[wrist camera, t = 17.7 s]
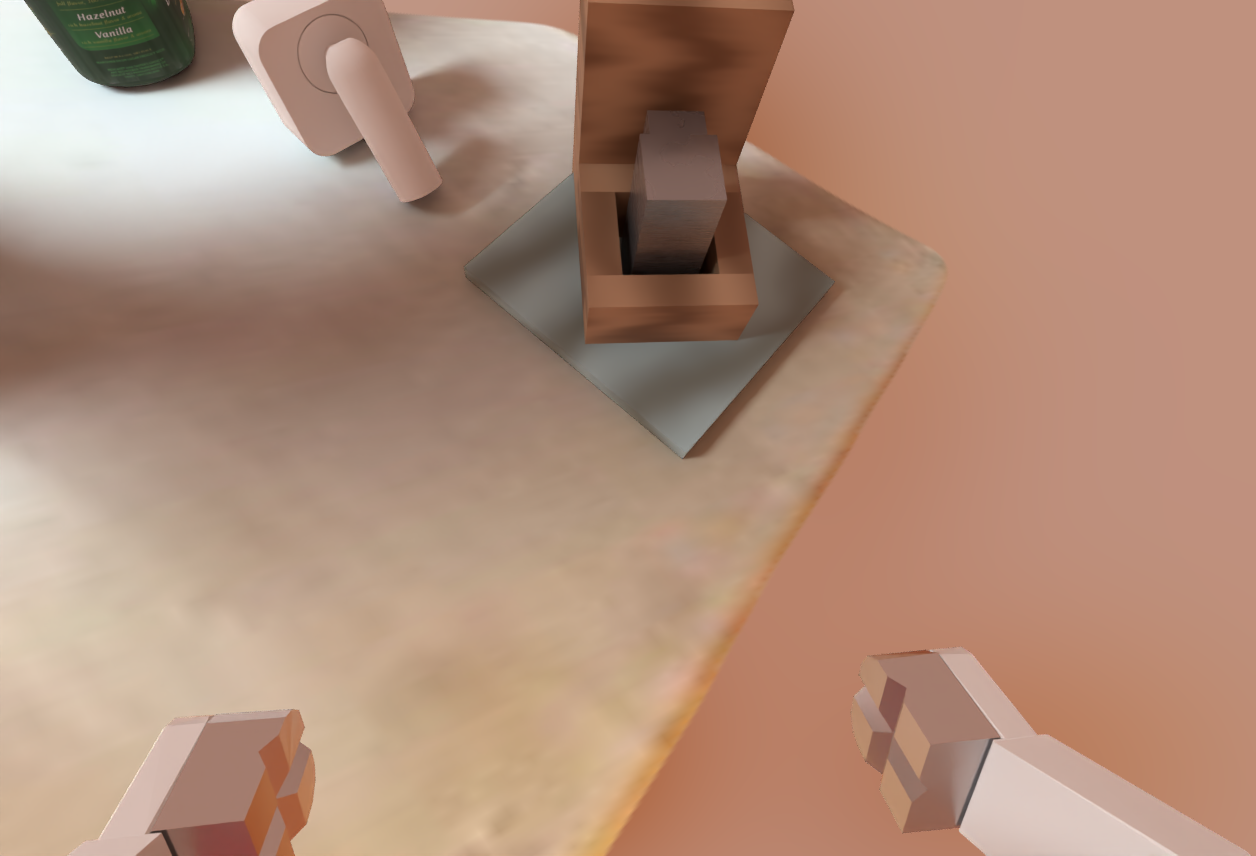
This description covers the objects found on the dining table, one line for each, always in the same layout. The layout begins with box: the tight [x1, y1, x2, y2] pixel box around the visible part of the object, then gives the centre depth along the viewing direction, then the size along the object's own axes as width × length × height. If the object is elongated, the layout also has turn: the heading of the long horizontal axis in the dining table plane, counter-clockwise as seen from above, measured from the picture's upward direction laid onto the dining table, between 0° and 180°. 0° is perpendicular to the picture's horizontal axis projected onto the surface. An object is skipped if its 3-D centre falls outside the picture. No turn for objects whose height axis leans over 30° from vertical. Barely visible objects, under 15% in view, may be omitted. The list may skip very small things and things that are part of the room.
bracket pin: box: [621, 110, 727, 275], centre depth 38 cm, size 4×6×10 cm
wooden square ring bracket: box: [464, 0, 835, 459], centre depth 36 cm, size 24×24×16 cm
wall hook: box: [232, 0, 442, 202], centre depth 41 cm, size 8×10×10 cm
